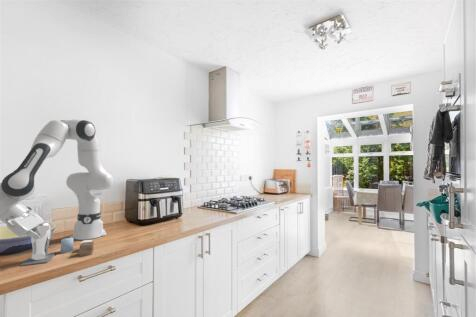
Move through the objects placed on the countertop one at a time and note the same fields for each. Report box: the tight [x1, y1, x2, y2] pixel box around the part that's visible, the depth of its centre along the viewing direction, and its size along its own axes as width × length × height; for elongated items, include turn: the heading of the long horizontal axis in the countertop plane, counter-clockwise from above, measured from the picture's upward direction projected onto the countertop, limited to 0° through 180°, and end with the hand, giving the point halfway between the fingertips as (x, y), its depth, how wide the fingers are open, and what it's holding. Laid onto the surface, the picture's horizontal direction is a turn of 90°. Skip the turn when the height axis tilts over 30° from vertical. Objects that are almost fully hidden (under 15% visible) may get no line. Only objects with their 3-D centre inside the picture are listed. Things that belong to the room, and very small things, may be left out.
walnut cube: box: [78, 240, 95, 257], centre depth 112 cm, size 5×5×5 cm
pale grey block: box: [79, 239, 93, 245], centre depth 118 cm, size 6×4×4 cm, turn 20°
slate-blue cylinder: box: [60, 237, 75, 254], centre depth 115 cm, size 5×5×6 cm
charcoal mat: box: [19, 252, 56, 267], centre depth 104 cm, size 12×9×1 cm
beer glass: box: [30, 222, 52, 261], centre depth 105 cm, size 7×7×15 cm
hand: (42, 235), depth 105 cm, fingers open, 8 cm apart
